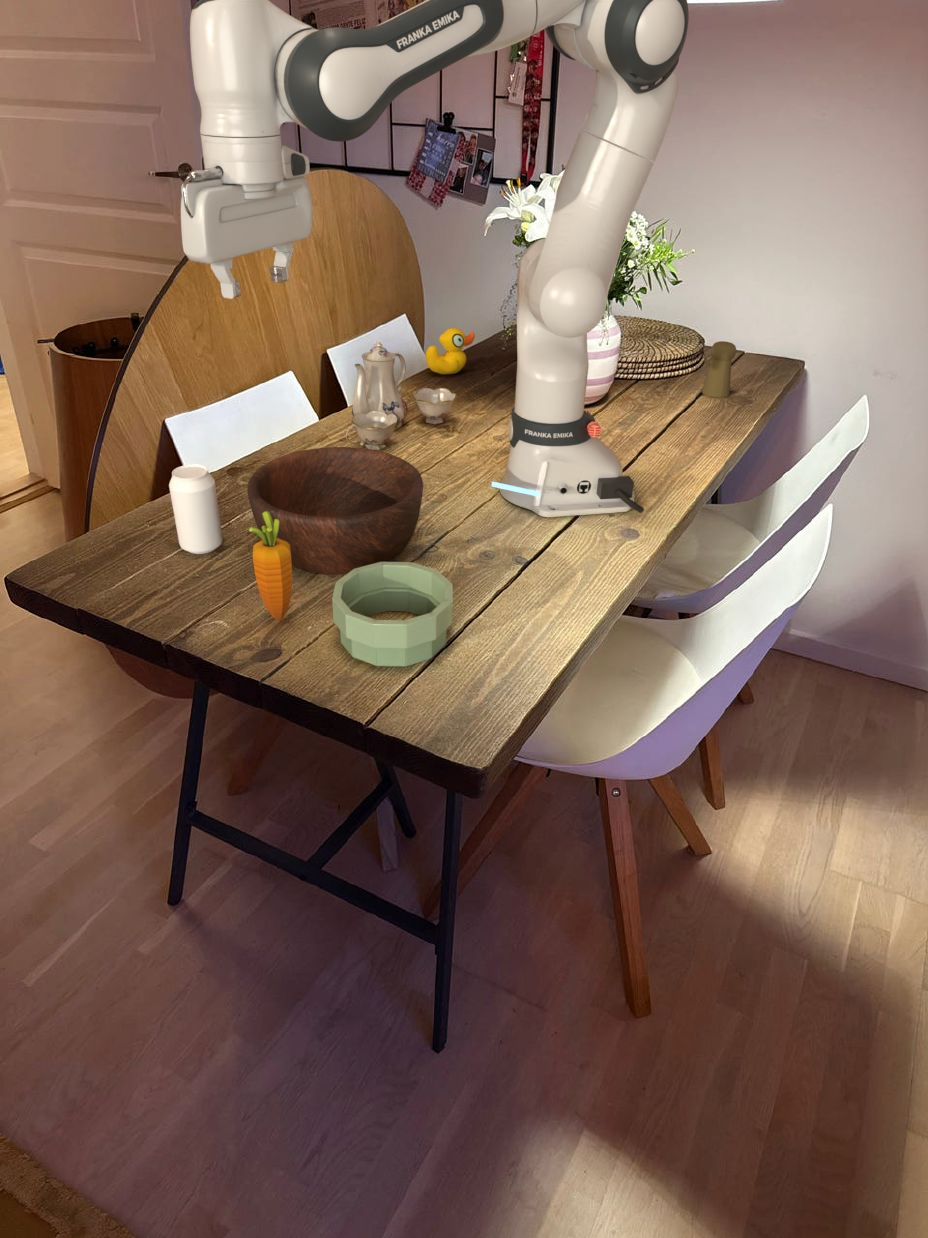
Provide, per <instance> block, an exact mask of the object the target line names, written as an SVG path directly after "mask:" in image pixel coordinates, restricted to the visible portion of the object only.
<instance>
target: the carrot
mask: <svg viewBox="0 0 928 1238" xmlns="http://www.w3.org/2000/svg"><path fill="white" fill-rule="evenodd" d="M262 514H263V517H264V520H265V523H266V525H267V526H262V530H263V531H262V532H261V531H260V530H259V529H258V528H257V527H249V529H248V531H249V533H252V534H255V535H256V536H258V537H259V538H260V539H261V540H260V541H258V542H255V543H254V544H253V546H252V562H253V570H254V574H255V580H256V586H257V588H258V591H259V595H260V597H261V600H262V602H263V605H264V607H265V608H266V610H267V611H268V613H269V614H270V616H272V617H273V619H274V620H276V621H278V622H280V621H281V620H283V619H284V617H285V616H286V614H287V611H288V610H289V606H290V603H291V598H292V593H293V591H292V590H293V567H292V561H291V548H290V545H289V543H288V542H286V541H284V540H281V539H278V538H277V535H278V531H279V524H280V521H279V520H278V519H275V521H274V523H273V520H272V517H271V514H270V512H267V511H265V512H264V513H262Z"/></svg>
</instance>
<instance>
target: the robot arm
mask: <svg viewBox="0 0 928 1238" xmlns="http://www.w3.org/2000/svg"><path fill="white" fill-rule="evenodd" d="M688 3H689V2H688V0H424V1H422V2H420V3H418V4H416V5H415V6H412V7H410V8H408V9H406V10H405V11H403V12H401V13H399V14H397V15H395V16H393V17H391V18H389V19H388V20H385V21H383V22H382V23H379V24H377V25H376V26H372V27H369V28H363V29H359V28H350V27H341V26H339V27H326V28H322V29H316V28H314V27H313V26H311V25H309V24H307V23H305V22H303V21H301V20H299V19H297V18H296V17H294V16H293V15H290V14H289V13H287V12H285V11H284V10H283V9H281V8H280V7H278V6H277V5H276V4H274V3H273V2H271V1H270V0H198V1H197V2H195V4H194V6H193V8H192V9H191V12H190V19H189V46H190V59H191V69H192V77H193V85H194V90H195V93H196V96H197V99H198V101H199V106H200V113H201V114H200V115H201V116H200V124H199V132H200V142H201V150H202V159H203V165H204V169H194V170H191V171H189V172H188V174H187V176H186V178H185V179H184V181H183V183H182V184H181V189H180V190H181V198H180V228H181V229H180V230H181V245H182V251H183V253H184V254H185V256H186V257H187V259H188V260H189V261H191V262H195V263H200V264H207V265H210V269H211V271H212V272H213V274H214V276H215V277H216V279H217V280H218V282H219V284H220V291H221V296H222V298H224V299H230V300H233V299H236V298H238V297H241V295H242V290H241V281H239V280H235V278H234V276H233V274H232V272H231V270H230V269H233V259H234V258H238V257H242V256H246V255H249V254H254V253H257V252H261V251H265V250H268V249H269V250H270V249H272V251H273V252H275V255H274V262H273V265H272V266H270V267H269V272H270V280H271V282H272V283H278V284H283V283H285V282H288V281H289V280H290V273H289V272H290V271H289V267H290V263H291V260H292V256H293V253H294V245H293V244H294V242H298V241H302V240H307V239H309V237H310V234H311V232H312V229H313V207H312V205H313V204H312V195H311V194H312V193H311V187H310V183H309V180H308V179H307V178H306V176H308V175H309V174H310V167H311V166H310V159H309V157H308V155H306V154H304V153H301V152H299V151H297V150H295V149H292V148H291V147H288V146H286V145H284V144H282V135H281V126H282V125H283V124H284V123H294V124H296V125H299V126H300V127H302V128H304V129H307V130H309V131H310V132H311V133H313V134H314V135H316V136H317V137H319V138H322V139H324V140H327V141H330V142H338V143H339V142H348V141H352V140H355V139H357V138H359V137H361V136H363V135H364V134H365V133H367V132H368V131H369V130H370V129H371V128H372V127H373V126H374V125H375V124H376V122H377V121H378V120H379V119H380V118H381V116H382V115H383V114H384V112H386V110H387V109H388V107H389V106H390V104H391V103H392V102H393V101H394V100H395V99H396V98H397V97H399V95H401V94H402V93H403V92H405V91H406V90H408V89H409V88H412V87H413V86H415V85H417V84H419V83H420V82H422V81H424V80H426V79H428V78H430V77H431V76H433V75H435V74H437V73H439V72H441V71H442V70H444V69H446V68H447V67H449V66H451V65H454V64H456V63H457V62H459V61H461V60H463V59H467V58H470V57H471V58H472V57H476V56H479V55H480V56H482V55H484V54H490V53H493V52H496V51H500V50H501V49H505V48H509V47H510V46H513V45H516V44H518V43H520V42H522V41H525V40H526V39H528V38H530V37H531V36H534V35H535V34H538V33H540V32H541V31H543V30H544V31H545V32H546V33H545V34H546V35H547V38H548V39H549V41H550V42H551V44H552V45H553V47H554V48H555V49H556V50H557V51H558V52H559V53H560V54H561V55H563V56H564V57H565V58H567V59H569V60H572V61H576V62H578V63H580V64H582V65H584V66H586V67H588V68H590V69H592V70H595V79H596V81H595V82H596V83H595V92H594V97H593V99H592V100H593V101H592V102H591V105H590V107H589V109H588V111H587V113H586V116H585V118H584V121H583V122H582V126H581V127H580V130H579V133H578V135H577V138H576V140H575V143H574V145H573V148H572V151H571V153H570V156H569V158H568V161H567V163H566V165H565V168H564V170H563V174H562V176H561V178H560V181H559V183H558V187H557V189H556V194H555V200H554V205H553V209H552V213H551V218H550V221H549V225H548V229H547V232H546V235H545V237H543V238H541V239H538V240H536V241H534V242H533V243H531V244H530V245H529V246H528V247H527V248H526V249H525V251H524V252H523V254H522V256H521V258H520V260H519V263H518V266H517V277H516V278H517V279H516V353H517V354H516V355H517V361H516V378H515V379H516V380H515V396H514V406H513V407H512V409H511V415H510V419H509V432H508V433H509V444H510V448H509V453H508V459H507V463H506V468H505V472H504V473H503V474H504V475H503V478H502V481H501V482H496V481H491V487H493V488H497V489H499V493H500V495H501V496H502V497H503V498H504V499H505V500H506V501H508V502H510V503H511V504H513V505H516V506H518V507H521V508H524V509H527V510H530V511H532V513H534V514H537V516H540V517H542V518H557V517H571V516H586V515H598V514H599V515H600V514H615V513H626V512H629V511H631V510H634V511H636V512H637V513H639V514H642V513H643V512H644V511H645V508H644V507H642V505H640V504H638V503H636V502H635V491H634V485H635V481H634V480H633V479H632V477H631V476H630V475H624V474H623V473H624V472H623V468H622V467H623V466H622V464H621V461H620V459H619V457H618V455H617V454H616V453H615V451H613V449H612V448H610V447H609V446H608V445H606V444H605V443H604V442H603V441H602V440H600V438H598V437H599V436H600V435H601V433H602V428H601V426H600V423H598V422H597V421H596V418H595V417H594V416H593V415H592V413H591V412H590V411H589V410H588V409H587V410H585V402H586V395H587V394H586V393H587V384H588V376H589V375H588V373H589V365H590V364H589V355H588V354H589V353H588V333H589V332H591V331H592V330H593V329H595V328H596V327H597V326H598V325H599V323H600V322H601V320H602V319H603V317H604V316H605V312H606V308H607V303H608V297H609V290H610V286H611V283H612V280H613V278H614V274H615V272H616V268H617V265H618V261H619V257H620V253H621V250H622V246H623V243H624V239H625V235H626V232H627V229H628V225H629V223H630V220H631V218H632V215H633V213H634V210H635V208H636V206H637V203H638V200H639V198H640V196H641V194H642V192H643V189H644V187H645V186H646V185H645V184H646V183H647V180H648V178H649V176H650V173H651V172H652V168H653V167H654V164H655V163H654V162H656V160H657V157H658V156H659V152H660V150H661V147H662V145H663V142H664V139H665V137H666V133H667V130H668V129H669V128H668V127H669V124H670V122H671V118H672V115H673V111H674V108H675V104H676V100H677V96H678V90H679V83H678V77H677V75H676V73H675V72H674V71H675V70H676V68H677V66H678V63H679V61H680V57H681V54H682V52H683V49H684V47H685V43H686V39H687V35H688V29H689V19H690V17H689V13H690V12H689V4H688Z"/></svg>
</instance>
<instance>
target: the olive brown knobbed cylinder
mask: <svg viewBox="0 0 928 1238" xmlns="http://www.w3.org/2000/svg"><path fill="white" fill-rule="evenodd" d="M736 354H737V346H736V345H735V344H734V343H733V342H730V341H721V340H720V341H716V342H714V343H713V344H712V346H711V348H710V355H711V357H712V358H711V361H710V364H709V367H708V370H707V373H706V377H705V379H704V383H703V386H702V389H701V393H702V395H705V396H707V397H711V398H727V397H729V396H730V391H731V376H732V375H731V374H732V362H733V361H732V360H733V359H734V358H735V356H736Z"/></svg>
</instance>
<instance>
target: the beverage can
mask: <svg viewBox="0 0 928 1238" xmlns="http://www.w3.org/2000/svg"><path fill="white" fill-rule="evenodd" d="M168 488H169V493H170V499H171V504H172V511H173V515H174V516H173V517H174V522H175V528H176V533H177V540H178V544H179V546H180V547H179V548H181V549H182V550H183V551H186V552H188V553H191V554H195V555H204V554H208V553H212V552H213V551H215V550H216V549H217V548H219V547H220V546H221V545H222V544H223V542H224V541H223V540H224V539H223V529H222V524H221V515H220V508H219V501H218V495H217V488H216V480H215V479H214V477H213V476H212V475H211V473H210V472H209V469H208V467H206V466H205V465H201V464H184V465H181V466H178V467H176V468H174V469H173V470H172V472H171V479H170V480H169V484H168Z"/></svg>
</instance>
